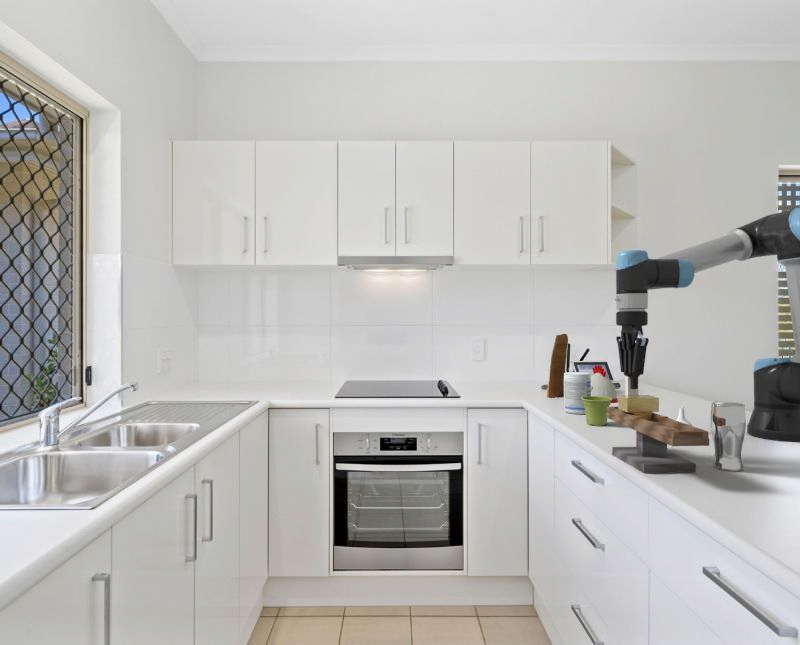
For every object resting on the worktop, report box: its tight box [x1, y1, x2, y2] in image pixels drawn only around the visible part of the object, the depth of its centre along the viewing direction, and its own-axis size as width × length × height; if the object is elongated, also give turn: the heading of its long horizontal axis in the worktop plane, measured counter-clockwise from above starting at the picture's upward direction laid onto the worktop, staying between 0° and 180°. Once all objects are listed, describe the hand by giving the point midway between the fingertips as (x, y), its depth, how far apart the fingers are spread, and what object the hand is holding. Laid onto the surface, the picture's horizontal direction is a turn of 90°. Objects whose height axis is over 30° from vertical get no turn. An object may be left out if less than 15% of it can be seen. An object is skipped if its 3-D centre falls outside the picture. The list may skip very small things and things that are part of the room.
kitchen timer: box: [590, 364, 618, 404], centre depth 223 cm, size 14×14×15 cm
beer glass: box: [709, 401, 747, 473], centre depth 122 cm, size 7×7×15 cm
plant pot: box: [582, 396, 612, 427], centre depth 173 cm, size 9×9×9 cm
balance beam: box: [606, 406, 710, 474], centre depth 127 cm, size 32×12×11 cm, turn 2°
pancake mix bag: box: [546, 333, 569, 399], centre depth 236 cm, size 7×19×28 cm, turn 141°
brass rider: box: [617, 394, 660, 420], centre depth 133 cm, size 5×8×5 cm, turn 92°
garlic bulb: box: [675, 406, 693, 426], centre depth 161 cm, size 6×6×8 cm
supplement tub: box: [563, 371, 591, 415], centre depth 195 cm, size 10×10×15 cm
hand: (631, 401), depth 136 cm, fingers closed
